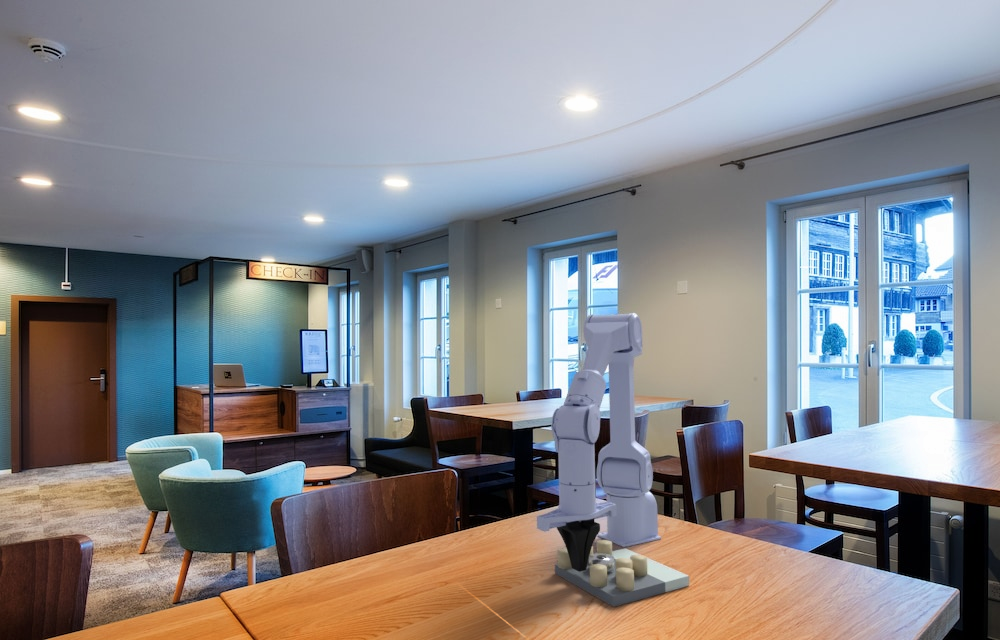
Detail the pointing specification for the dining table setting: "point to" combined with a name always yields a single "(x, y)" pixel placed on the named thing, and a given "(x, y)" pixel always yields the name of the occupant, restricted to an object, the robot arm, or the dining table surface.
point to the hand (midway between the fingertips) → (578, 569)
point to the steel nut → (602, 561)
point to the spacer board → (611, 590)
